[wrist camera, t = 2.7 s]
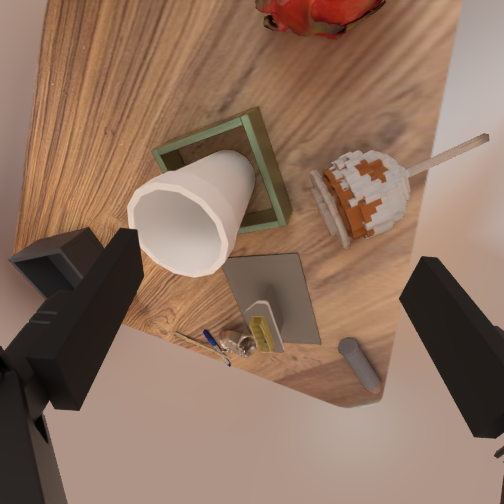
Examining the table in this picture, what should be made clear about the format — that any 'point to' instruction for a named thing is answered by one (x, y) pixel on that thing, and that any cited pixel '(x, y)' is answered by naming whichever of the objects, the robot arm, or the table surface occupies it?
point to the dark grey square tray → (58, 261)
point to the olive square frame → (263, 155)
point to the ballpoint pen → (215, 345)
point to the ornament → (237, 343)
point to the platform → (272, 299)
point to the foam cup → (193, 213)
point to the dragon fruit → (316, 15)
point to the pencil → (360, 365)
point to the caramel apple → (370, 191)
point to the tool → (181, 337)
